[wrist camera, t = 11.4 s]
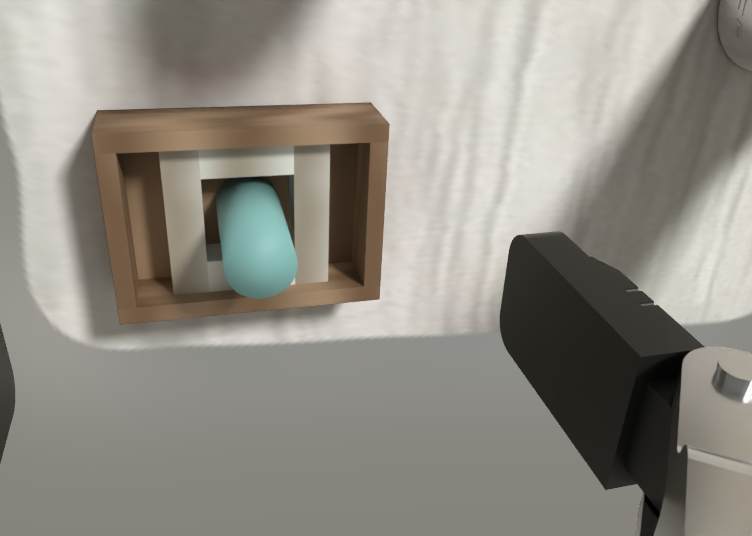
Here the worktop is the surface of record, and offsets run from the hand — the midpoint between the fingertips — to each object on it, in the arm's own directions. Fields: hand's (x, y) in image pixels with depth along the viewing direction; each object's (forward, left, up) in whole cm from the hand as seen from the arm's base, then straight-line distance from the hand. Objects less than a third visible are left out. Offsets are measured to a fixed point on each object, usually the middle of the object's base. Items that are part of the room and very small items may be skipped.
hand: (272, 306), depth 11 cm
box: (-2, +11, -30) cm, 32 cm away
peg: (-2, +11, -29) cm, 31 cm away
